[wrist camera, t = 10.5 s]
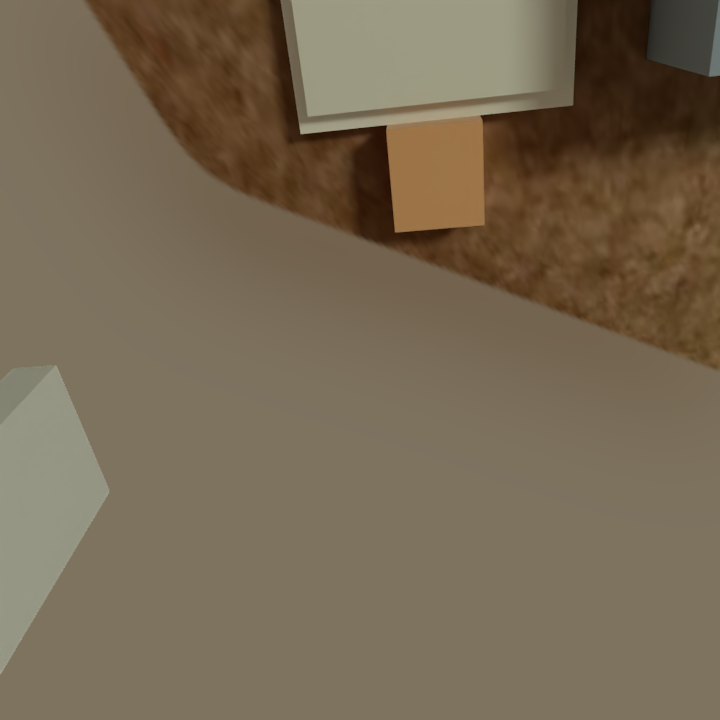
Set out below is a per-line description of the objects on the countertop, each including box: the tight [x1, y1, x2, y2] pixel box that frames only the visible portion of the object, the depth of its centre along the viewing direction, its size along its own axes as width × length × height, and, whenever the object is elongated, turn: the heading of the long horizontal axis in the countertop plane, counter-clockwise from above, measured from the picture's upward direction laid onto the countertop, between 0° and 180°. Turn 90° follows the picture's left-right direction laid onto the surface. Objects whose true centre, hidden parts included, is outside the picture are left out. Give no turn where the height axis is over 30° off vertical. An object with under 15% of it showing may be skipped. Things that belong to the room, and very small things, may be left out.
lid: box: [281, 0, 578, 233], centre depth 23 cm, size 16×11×2 cm
